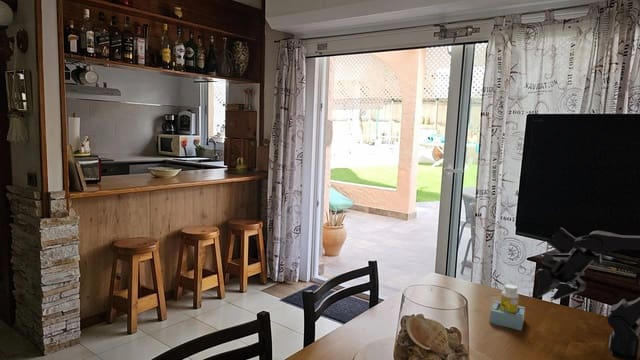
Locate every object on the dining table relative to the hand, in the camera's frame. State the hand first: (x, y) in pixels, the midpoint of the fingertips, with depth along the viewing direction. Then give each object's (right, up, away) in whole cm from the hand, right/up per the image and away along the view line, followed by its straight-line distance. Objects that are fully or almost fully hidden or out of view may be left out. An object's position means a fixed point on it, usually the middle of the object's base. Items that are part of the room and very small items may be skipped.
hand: (545, 297), depth 143 cm
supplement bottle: (-10, -7, +6) cm, 13 cm away
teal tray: (-10, -10, +6) cm, 15 cm away
